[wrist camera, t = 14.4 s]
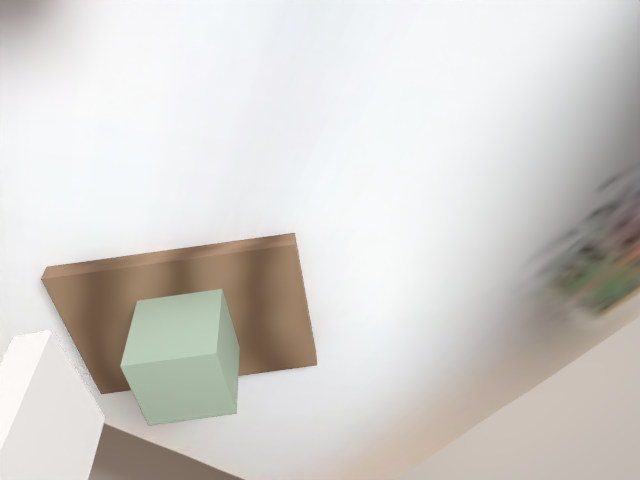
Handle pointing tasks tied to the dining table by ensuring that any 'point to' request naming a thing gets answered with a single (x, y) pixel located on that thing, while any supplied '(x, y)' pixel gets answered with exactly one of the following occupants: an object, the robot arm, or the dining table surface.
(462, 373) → the dining table surface
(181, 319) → the green cube
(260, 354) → the walnut board
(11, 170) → the dining table surface
